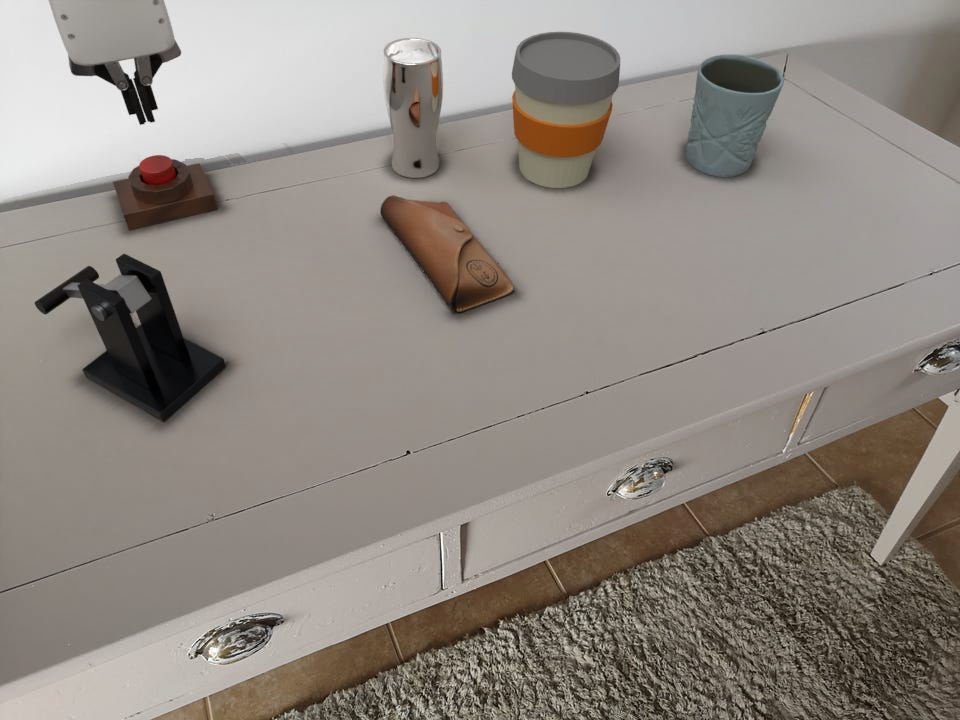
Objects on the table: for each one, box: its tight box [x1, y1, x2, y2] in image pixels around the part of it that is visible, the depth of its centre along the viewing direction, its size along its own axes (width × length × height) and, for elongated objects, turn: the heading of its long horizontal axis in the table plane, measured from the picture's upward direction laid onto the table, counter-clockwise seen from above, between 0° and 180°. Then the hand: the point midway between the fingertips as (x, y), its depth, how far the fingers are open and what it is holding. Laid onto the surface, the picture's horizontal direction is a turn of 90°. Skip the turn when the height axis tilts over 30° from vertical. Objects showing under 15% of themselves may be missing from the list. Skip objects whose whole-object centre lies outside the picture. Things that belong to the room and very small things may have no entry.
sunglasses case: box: [379, 194, 516, 313], centre depth 86 cm, size 18×7×7 cm
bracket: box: [77, 253, 227, 422], centre depth 69 cm, size 10×8×12 cm
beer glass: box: [382, 37, 444, 179], centre depth 93 cm, size 7×7×15 cm
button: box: [138, 154, 176, 185], centre depth 88 cm, size 4×4×2 cm
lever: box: [34, 265, 152, 315], centre depth 69 cm, size 12×6×2 cm, turn 60°
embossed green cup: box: [685, 54, 785, 178], centre depth 98 cm, size 10×10×12 cm
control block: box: [112, 158, 219, 231], centre depth 90 cm, size 10×7×4 cm
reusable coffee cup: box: [511, 31, 621, 189], centre depth 94 cm, size 13×12×15 cm
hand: (145, 117), depth 83 cm, fingers closed
